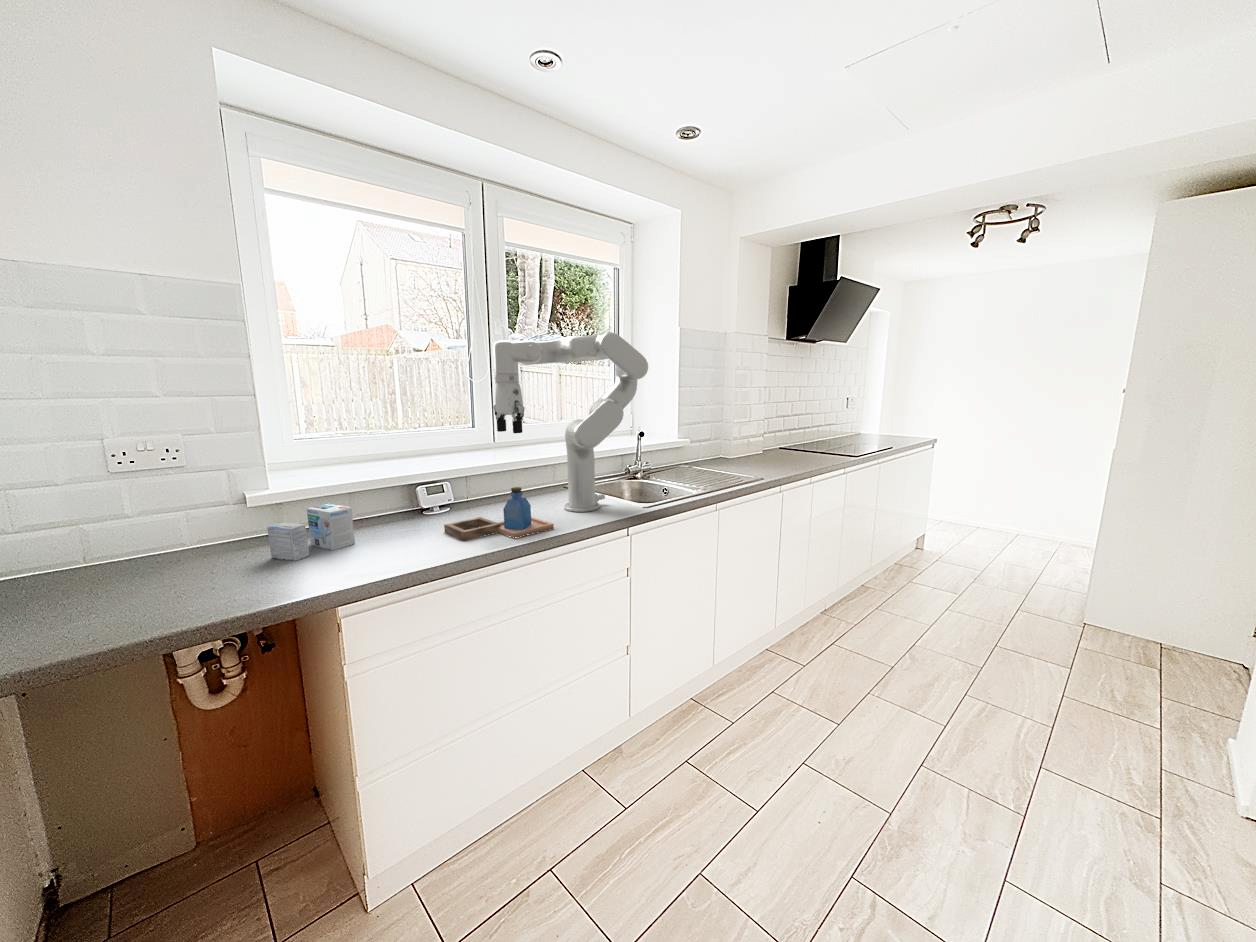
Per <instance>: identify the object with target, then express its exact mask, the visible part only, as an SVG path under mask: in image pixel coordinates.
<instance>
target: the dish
mask: <svg viewBox="0 0 1256 942" xmlns="http://www.w3.org/2000/svg"><path fill="white" fill-rule="evenodd" d="M497 523H499V524H500V525H501V527H498V532H499V533H498V534H500V533H502V534H501V535H503V534H505V535H508V536H511V537H514V538H515V537H520V536H523V535H527V534H531V535H533V534H532V533H535V534H538V533H537V532H539V533H542V532H541V531H543V532H546V531H545V530H547V531H550V530H549V529H551V530H554V529H555V528H554V525H555V524H554V523H553V522H548V521H546V520H543V519H539V518H536V517H533V516H531V525H530V526H528V527H527V528H526V529H524V530H517V529H505V528H504V520H502V521H498V522H497ZM505 535H504V536H505ZM508 536H507V537H508ZM527 536H528V535H527ZM511 537H510V538H511ZM523 537H524V536H523ZM520 538H521V537H520Z"/></svg>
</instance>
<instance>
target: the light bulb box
mask: <svg viewBox="0 0 1256 942" xmlns="http://www.w3.org/2000/svg"><path fill="white" fill-rule="evenodd" d="M306 514H307V521H308V531H309V539H310V540H309V541H310V545H311V546H314V545H315V546H314V547H317V548H318V547H319V548H322V549H326V550H329V549H330V550H331V551H336V550H339V549H343V548H346V547H349V545H350V546H353V545H355V544H356V541H355V540H356V539H355V529H354V521H353V520H354V519H353V509H352V507H351V506H346V505H340V504H332V503H326V504H321V505H316V506H311V507H306ZM352 544H353V545H352ZM345 546H346V547H345ZM342 547H343V548H342ZM338 548H339V549H338ZM335 549H336V550H335Z"/></svg>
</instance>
